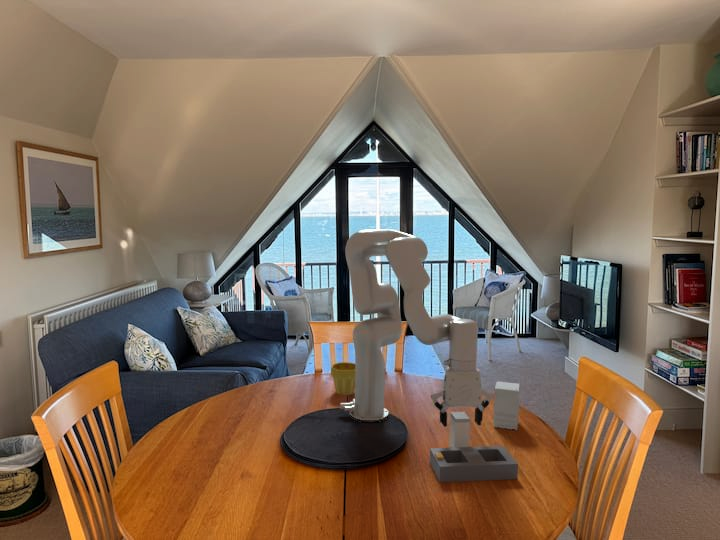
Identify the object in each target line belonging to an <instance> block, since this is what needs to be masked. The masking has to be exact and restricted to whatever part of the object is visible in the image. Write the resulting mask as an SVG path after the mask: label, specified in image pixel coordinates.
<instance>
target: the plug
mask: <svg viewBox="0 0 720 540" xmlns="http://www.w3.org/2000/svg"><path fill="white" fill-rule="evenodd" d="M470 422H471V418H470V417H469V415H467V413H466V412H465V411H451V412H450V421H449V423H450V424H449V439H448V440H449V443H448V446H449V448H456V447H470V446H469V445H470V429H471V428H470V424H471V423H470Z"/></svg>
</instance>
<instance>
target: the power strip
mask: <svg viewBox="0 0 720 540" xmlns="http://www.w3.org/2000/svg"><path fill="white" fill-rule="evenodd" d="M429 464H430V466H431V468H432V470H433V472H434V474H435V476H436V478H437V480H438V482H439V483H449V482H450V483H451V482H474V481H475V482H476V481H478V482H479V481H501V480H502V481H503V480H518V475H519V474H518V473H519V463H518V462H517V461H516V459H515V457H513V455H511V453H509V451H508V450H507V448H506V447H505V446H504V445H496V446H494V445H493V446H491V445H489V446H469V447H456V448H450V447H433V448H432V447H431V448H430V449H429Z"/></svg>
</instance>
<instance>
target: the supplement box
mask: <svg viewBox="0 0 720 540" xmlns="http://www.w3.org/2000/svg"><path fill="white" fill-rule="evenodd" d="M493 397H494V401H493V402H494V403H493V428H498V427H499V429H505V428H506V430H512V429H515V430H514V431H518V428H519V427H518V426H519V414H520V413H519V411H520V383H516V382H515V383H514V382H505V381H496V383H495V387H494V396H493Z"/></svg>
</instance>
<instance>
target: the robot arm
mask: <svg viewBox="0 0 720 540" xmlns="http://www.w3.org/2000/svg"><path fill="white" fill-rule="evenodd" d="M428 250H429V249H428V246H427V244H426V243H425V241H424V240H423V239H422V238H419V237H418V236H414V235H412V234H410V233H409V234H408V233H406V232H403V231H398V230H395V229H390V228H389V229H388V228H382V229H381V228H380V229H379V228H378V229H376V228H375V229H372V228H370V229H362V230H358V231H356V232H354V233H353V234H352V235H350V237H349V238H348V239H347V241H346V245H345V250H344V253H345V260H346V264H347V267H348V272H349V277H350V287H351V294H352V295H351V297H352V302H353V308H354V309H355V311H356V313H357V314H358V315H360V316H361V315H363V316H368V315H369V316H370V315H374V314H376V316H377V317H371V318H368V319H364V320H361V321H359V322H358V323H357V324H356V325H355V326H354V327H353V330H352V340H353V346H354V357H355V358H354V360H355V361H354V362H355V390H354V398H352V401H350V402H340V403H339V406H340V410H344V412H349V416H350V415H351V416H352V417H354V418H356V419H360V420H379V419H383V418H385V417H387V416H388V415H390V414H389V413H390V412H389V410H388V409H387V408H385V378H386V376H385V374H386V361H385V357H384V354H383V352H382V350H381V349H382V347H383V348H384V347H386V346H390V345H393V344H395V343H397V342H399V340H400V339H401V337H402V335H403V334H402V333H403V325H402V317H401V310H400V302H399V301H400V300H399V296H398V293H397V291H396V290H395V288H394V286H392V285H391V284H389V283H387V282H378V276H377V270H376V267H375V265H374V263H373V262H372V261H371V259H370V258H372V257H385V258H386V260H387V261H388V263H389V265H390V267H391V269H392V271H393V273H394V275H395V277H396V279H397V281H398V282H399V285H400V286H401V288H402V290H403V292H404V293H403V294H404V296H403V312H404V317H405V319H406V322H407V325H408V326H409V328H410V330H411V332H412V334H413V335H414V337H415V338H416V339H417V341H419V343H421V344H423V345H425V346H433V345H436V344H440V343H443V342H444V343H445V342H448V343H449V344H448V346H449V347H448V357H447V359H446V360H443V365H444V366H447V367H446V369H445V373H444V377H443V378H444V379H443V384H442V385H443V387H442V389H440V390H438V391H436V392H435V393H433V394H431V395H430V398H431V400H432V402H433V404H434V407H436V409H438V410H439V422H440V423H441V424H442V426H443V427H445V428H446V427H447V426H448V412H447V410H448V409H449V408H470V407H471V408H472V407H475V408H474V422H475V424H477V425H478V426H481V425H482V422H483V414H484V413H483V412H484V411H485V409H486V408H487V407H488V406H489V405H490V402H491V400H492V399H493V397H494V395H493V394H492V393H491V392H489V391H487V390H485V389H483V387H482V377H481V372H480V371H481V370H480V368H478V367H477V364H478V363H477V362H478V358H477V357H478V338H479V336H478V334H479V333H478V330H479V329H478V328H479V325H478V323H477V321H475V320H473V319H469V318H460V317H459V316H458V317H457V316H455V315H453V314H449V313H447V314H446V313H443V314H437V315H434V316H433V315H432V316H430V315H429V313H428V311H427V309H426V306H425V303H424V300H423V294H424V291H425V289H426V288H427V287H428V286H429V285H430V283H431V278H430V275H429V274H428V271H427V270H426V269H425V267H424V264H423V262H425V261H426V259H427V257H428V253H429V251H428ZM483 397H485V398H484V399H483ZM439 398H442V402H441V403H440V402H439ZM351 416H350V417H351ZM352 417H351V418H352ZM388 417H389V416H388Z"/></svg>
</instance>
